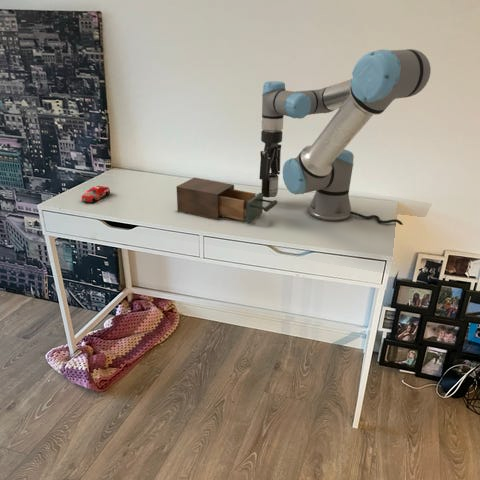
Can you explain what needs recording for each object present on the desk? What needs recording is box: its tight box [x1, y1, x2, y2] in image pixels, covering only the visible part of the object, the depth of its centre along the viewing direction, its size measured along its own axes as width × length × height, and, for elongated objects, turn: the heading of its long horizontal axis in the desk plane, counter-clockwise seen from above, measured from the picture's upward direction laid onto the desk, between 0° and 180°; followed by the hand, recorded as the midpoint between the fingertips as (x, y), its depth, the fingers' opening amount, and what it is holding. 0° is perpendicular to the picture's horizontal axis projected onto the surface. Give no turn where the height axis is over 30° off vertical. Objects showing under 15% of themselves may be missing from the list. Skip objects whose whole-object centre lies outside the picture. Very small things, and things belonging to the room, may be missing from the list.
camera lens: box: [260, 172, 279, 198], centre depth 181 cm, size 6×6×8 cm
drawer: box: [219, 188, 278, 224], centre depth 170 cm, size 22×11×7 cm, turn 63°
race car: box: [81, 185, 111, 204], centre depth 185 cm, size 13×5×4 cm, turn 153°
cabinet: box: [176, 177, 235, 221], centre depth 176 cm, size 17×12×9 cm
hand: (269, 194), depth 183 cm, fingers closed on camera lens, 6 cm apart
